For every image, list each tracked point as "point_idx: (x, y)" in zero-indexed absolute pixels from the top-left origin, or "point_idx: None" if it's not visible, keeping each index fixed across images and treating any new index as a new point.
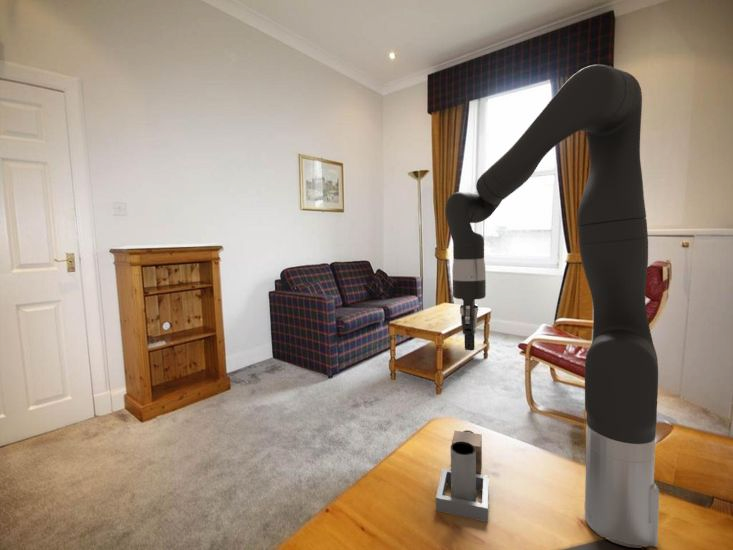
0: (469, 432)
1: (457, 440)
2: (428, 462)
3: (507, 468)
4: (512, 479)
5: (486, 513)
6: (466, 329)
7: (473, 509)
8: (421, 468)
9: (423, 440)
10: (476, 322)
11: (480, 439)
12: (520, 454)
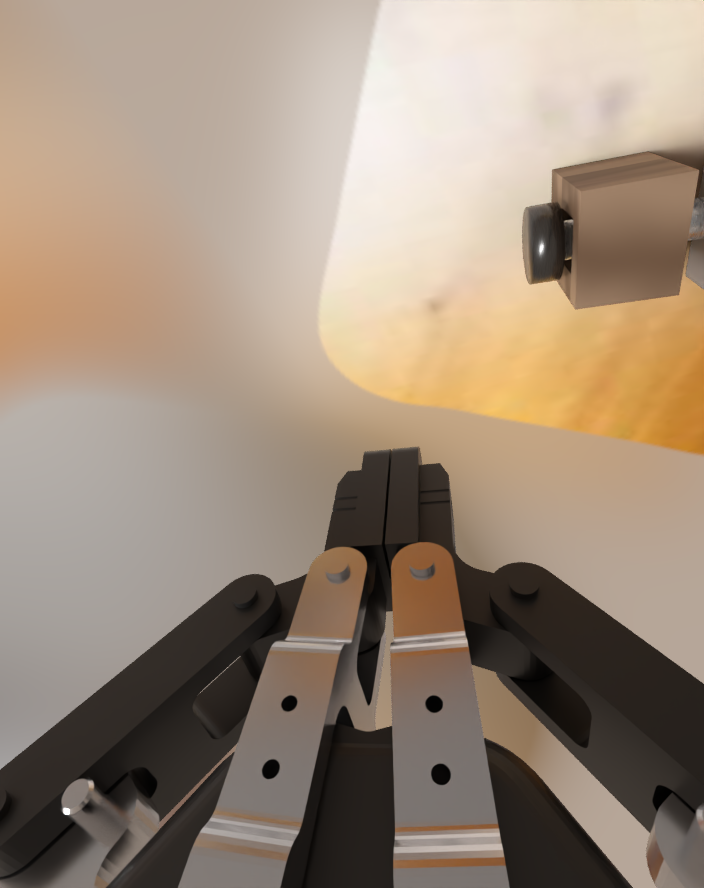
0: (550, 249)
1: (658, 278)
2: (597, 342)
3: (561, 55)
4: (636, 16)
5: None
6: (547, 669)
7: None
8: (636, 352)
9: (473, 391)
10: (441, 673)
11: (631, 185)
12: (434, 13)
